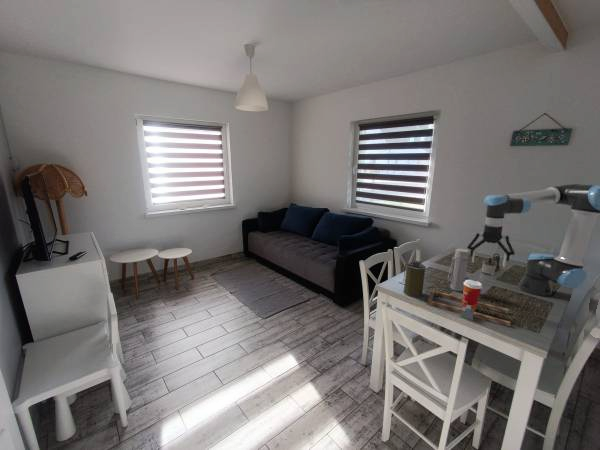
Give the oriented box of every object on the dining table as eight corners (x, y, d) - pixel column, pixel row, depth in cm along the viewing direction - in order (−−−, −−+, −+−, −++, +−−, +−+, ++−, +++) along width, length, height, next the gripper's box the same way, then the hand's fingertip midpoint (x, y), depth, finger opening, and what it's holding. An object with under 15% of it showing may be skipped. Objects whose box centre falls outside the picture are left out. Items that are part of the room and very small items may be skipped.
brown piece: (507, 312, 136) (508, 308, 136) (509, 327, 124) (510, 322, 124) (432, 293, 156) (432, 289, 155) (427, 304, 144) (427, 299, 143)
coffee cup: (461, 303, 145) (465, 277, 142) (478, 308, 140) (483, 282, 137) (458, 309, 139) (462, 283, 135) (476, 315, 134) (481, 287, 130)
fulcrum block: (473, 316, 132) (474, 306, 131) (472, 320, 129) (474, 310, 128) (461, 313, 135) (463, 303, 134) (460, 317, 132) (462, 307, 131)
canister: (423, 291, 158) (427, 260, 153) (421, 299, 149) (425, 265, 144) (404, 287, 163) (407, 256, 158) (401, 294, 154) (404, 262, 150)
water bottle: (461, 287, 164) (467, 248, 158) (465, 293, 157) (471, 252, 151) (444, 285, 167) (450, 247, 161) (448, 290, 159) (453, 251, 153)
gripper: (524, 226, 132) (517, 266, 137) (465, 221, 146) (461, 257, 151) (526, 229, 126) (518, 271, 131) (464, 224, 140) (460, 261, 145)
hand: (487, 264), depth 141 cm, fingers open, 13 cm apart
